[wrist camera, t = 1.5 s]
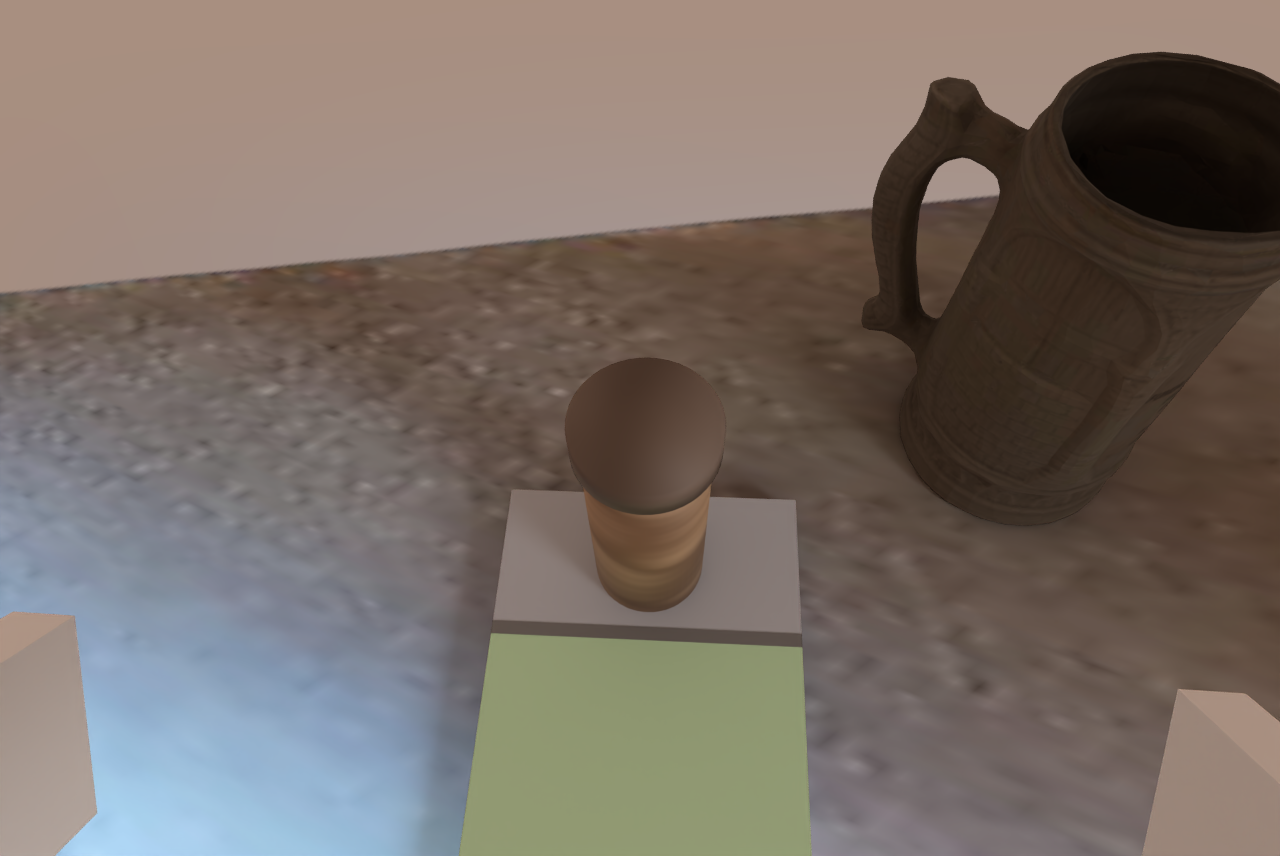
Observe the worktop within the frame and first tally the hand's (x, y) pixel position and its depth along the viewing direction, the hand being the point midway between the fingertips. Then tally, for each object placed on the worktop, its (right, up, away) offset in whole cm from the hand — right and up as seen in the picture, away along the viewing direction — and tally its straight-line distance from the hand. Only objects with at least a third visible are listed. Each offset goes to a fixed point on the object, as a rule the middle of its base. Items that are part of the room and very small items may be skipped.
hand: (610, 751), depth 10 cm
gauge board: (0, -10, +27) cm, 29 cm away
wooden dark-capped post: (+1, -2, +30) cm, 30 cm away
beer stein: (+17, +4, +36) cm, 40 cm away
